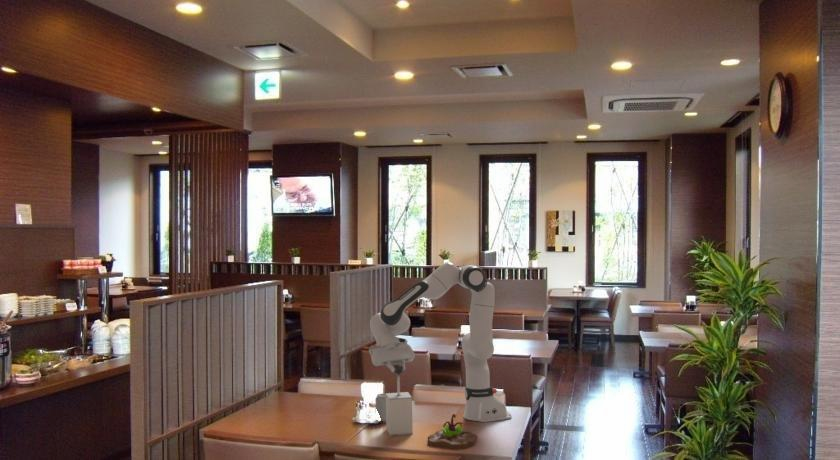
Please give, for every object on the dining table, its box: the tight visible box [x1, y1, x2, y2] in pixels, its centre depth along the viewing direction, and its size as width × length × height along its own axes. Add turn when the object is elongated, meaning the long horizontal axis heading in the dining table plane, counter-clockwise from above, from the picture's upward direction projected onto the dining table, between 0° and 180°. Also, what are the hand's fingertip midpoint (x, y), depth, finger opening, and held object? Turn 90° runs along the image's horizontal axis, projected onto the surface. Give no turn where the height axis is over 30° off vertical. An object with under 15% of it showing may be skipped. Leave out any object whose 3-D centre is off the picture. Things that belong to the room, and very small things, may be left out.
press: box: [385, 391, 414, 437], centre depth 300 cm, size 10×10×16 cm
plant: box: [427, 413, 478, 450], centre depth 285 cm, size 20×20×11 cm
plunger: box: [393, 364, 403, 396], centre depth 300 cm, size 8×8×21 cm
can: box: [375, 393, 386, 423], centre depth 319 cm, size 8×8×12 cm
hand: (399, 370), depth 300 cm, fingers closed on plunger, 4 cm apart
